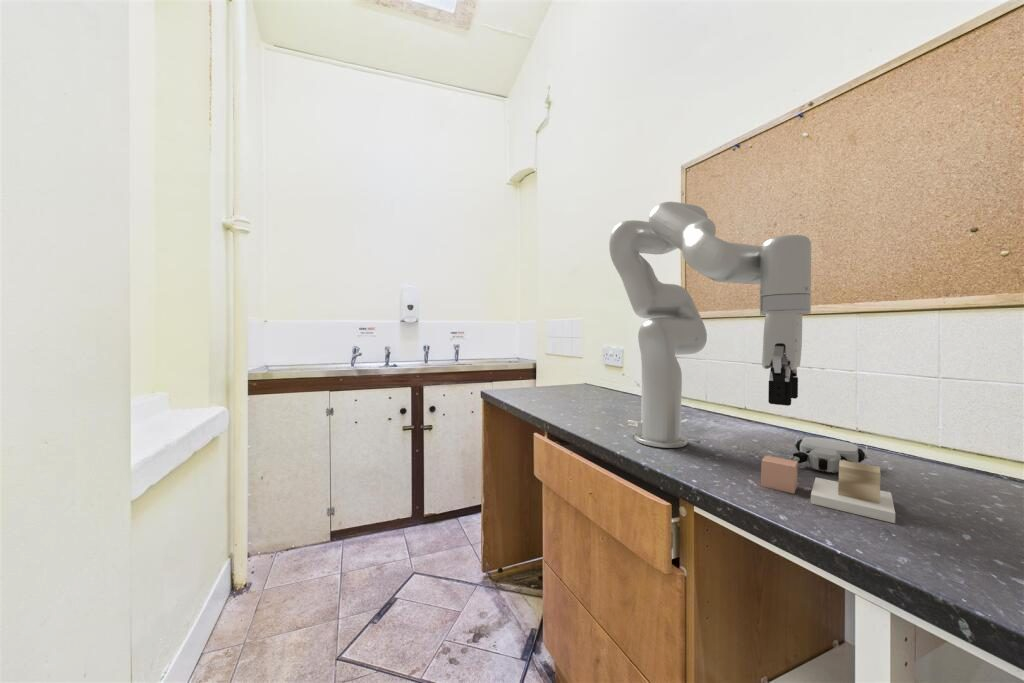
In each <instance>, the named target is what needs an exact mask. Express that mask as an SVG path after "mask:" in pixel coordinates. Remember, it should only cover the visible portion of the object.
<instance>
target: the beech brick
mask: <svg viewBox="0 0 1024 683" xmlns="http://www.w3.org/2000/svg"><path fill="white" fill-rule="evenodd" d="M881 475H882V474H881V468H880V466H877V465H872V464H866V463H861V462H859V463H855V462H849V461H843V460H840V462H839V471H838V481H837V482H838V495H842V496H847V497H851V498H856V499H860V500H865V501H870V502H874V503H879V504H880V490H881Z"/></svg>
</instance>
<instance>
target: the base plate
mask: <svg viewBox="0 0 1024 683" xmlns="http://www.w3.org/2000/svg"><path fill="white" fill-rule="evenodd" d="M810 504H812V505H815V506H816V505H817V506H819V507H825V508H827V509H828V508H829V509H833V510H838V511H840V512H845V513H850V514H854V515H859V516H863V517H865V518H866V517H867V518H871V519H876V520H880V521H884V522H887V523H890V524H891V523H893V524H896V511H895V507H894V506H895V505H894V501H893V495H892V492H890V491H886V490H881V489H880V504H879V503H874V502H870V501H865V500H860V499H856V498H851V497H847V496H842V495H838V481H836V480H831V479H825V478H820V477H815V478H814V482H813V485H812V489H811V492H810Z"/></svg>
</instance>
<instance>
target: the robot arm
mask: <svg viewBox="0 0 1024 683" xmlns="http://www.w3.org/2000/svg"><path fill="white" fill-rule="evenodd" d="M716 228H717V227H716V225H715V222H714V221H713V220H711V219H710V218H709V216H708V214H707V211H706V210H705V209H704V208H703V207H701V206H699V205H697V204H696V205H695V204H690V203H684V202H676V201H664V202H662V203H659V204H657V205H656V206H655V207H654V208H652V210H651V212H650V214H649V215H648V221H643V220H633V219H632V220H625V221H621V222H619V223H617V224H616V225H614V227H613V229H612V231H611V233H610V237H609V243H608V244H609V255H610V258H611V261H612V264H613V266H614V267H615V269H616V271H617V273H618V274H619V277H620V278H621V281H622V283H623V286H624V289H625V292H626V294H627V297H628V299H629V302H630V304H631V308H632V310H633V311H634V314H635V315H637V317H639V318H642V319H647V320H646V321H644V322H643V323H642V324H641V326H640V327H639V329H638V332H637V334H638V335H637V339H638V346H639V351H640V359H641V399H640V400H641V403H640V404H641V405H640V406H641V410H640V412H641V413H640V418H641V419H640V420H639V421H636V420H632V419H628V420H627V422H626V425H627V429H631V430H635V431H637V432H636V433H635V434H634V440H635V441H637V442H638V443H640V444H642V445H645V446H648V447H649V446H650V447H654V448H655V447H656V448H661V449H662V448H663V449H677V448H684V447H685V446H687V445H688V438H687V437H686V436H684V435H682V433H681V432H682V430H681V429H682V423H681V422H682V389H683V388H682V386H683V385H682V384H683V382H682V380H683V379H682V378H683V376H682V375H683V374H682V369H681V366H680V363H679V361H678V359H677V357H676V356H678V355H679V356H680V355H692V354H697V353H699V352H701V351H702V350H703V349H704V347H706V344H707V340H708V333H707V329H706V326H705V324H704V321H703V319H702V318H701V315H700V312H699V310H698V308H697V306H696V304H695V302H694V299H693V298H692V296H691V294H690V292H689V291H688V290H686V288H685V287H683V286H682V285H679V284H674V283H663V282H661V281H659V279H658V277H657V275H656V274H655V271H654V269H653V267H652V265H651V264H650V262H648V261H647V259H646V258H644V257H643V256H642V255H641V254H648V255H656V256H657V255H665V254H668V253H670V252H672V251H673V252H674V251H675V250H677V249H679V250H680V251H681V252H682V256H683V258H684V261H685V263H686V264H687V265H688V266H689V267H691V268H692V269H693V270H695V271H696V272H698V273H700V274H701V275H702V276H704V277H706V278H708V279H709V280H712V281H715V282H719V283H728V284H729V283H730V284H742V285H743V284H744V285H759V284H760V286H759V296H760V298H759V315H760V316H765V318H764V322H763V323H764V325H763V336H762V340H763V341H762V359H761V366H762V368H763V369H765V370H768V369H770V370H769V380H768V400H767V401H768V403H769V404H770V405H775V406H776V405H777V406H785V407H787V406H791V405H792V399H794V400H795V399H798V397H799V395H798V394H799V377H798V369H797V368H799V367H800V365H801V360H802V347H803V346H802V344H803V315H810V314H811V313H812V312H811V308H812V306H811V305H812V303H811V302H812V301H811V300H812V295H811V294H812V242H811V239H810V238H809V237H808V236H806V235H802V234H787V235H780V236H776V237H775V236H774V237H772V238H769V239H767V240H765V241H763V243H762V244H761V245H755V244H754V245H752V244H746V243H736V242H735V243H734V242H728V241H726V240H723V239H721V238H719V237H717V236H716V231H717V230H716Z"/></svg>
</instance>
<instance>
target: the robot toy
mask: <svg viewBox="0 0 1024 683" xmlns="http://www.w3.org/2000/svg"><path fill="white" fill-rule="evenodd" d="M799 438H800V436H799V435H797V436H796V440H795V442H794V444H793V446H794V447H795V448H796V450H797V452H795V453H793V454H792V455H790V456H789V457H788V460H793V461H798V464H802V463H806V462H808V464H809V465H810V467H811V468H812V469H813V470H817V471H820V472H824V471H826V472H825V473H830V472H832V473H833V474H836V473H839V462H840V460H843V461H849V462H855V463H861V462H863V461H864V460H865V459H868V454H867V453H868V449H869V448H868V446H865V451H863V449H862V448H859V446H858V445H856V444H854V443H852V442H851V443H850V442H848V441H847V442H846V441H842V440H838V439H832V438H824V437H816V436H815V437H812V436H807V437H803V438H802V439H799ZM832 473H831V474H832Z"/></svg>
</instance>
